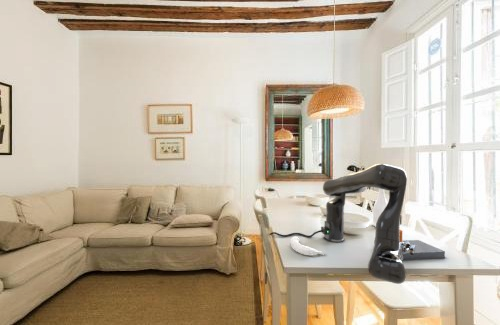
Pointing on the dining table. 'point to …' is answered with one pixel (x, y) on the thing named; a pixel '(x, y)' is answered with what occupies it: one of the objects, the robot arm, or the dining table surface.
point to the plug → (400, 236)
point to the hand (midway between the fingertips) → (395, 240)
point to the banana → (303, 248)
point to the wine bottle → (379, 205)
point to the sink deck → (423, 251)
